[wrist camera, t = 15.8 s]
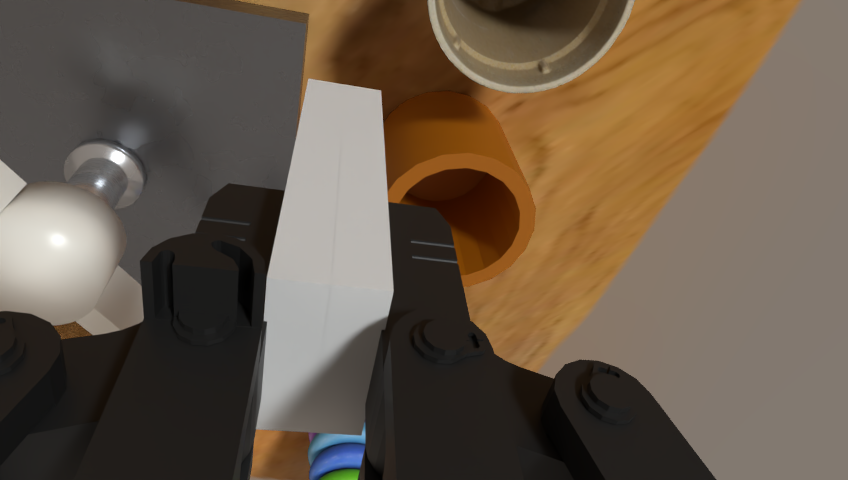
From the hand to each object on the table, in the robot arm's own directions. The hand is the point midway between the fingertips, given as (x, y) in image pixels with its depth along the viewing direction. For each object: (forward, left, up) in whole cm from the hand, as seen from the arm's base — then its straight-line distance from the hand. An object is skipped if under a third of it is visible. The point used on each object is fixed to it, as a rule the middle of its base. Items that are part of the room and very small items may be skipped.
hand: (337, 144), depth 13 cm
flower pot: (-1, +8, -25) cm, 26 cm away
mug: (+13, +7, -25) cm, 29 cm away
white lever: (+17, -11, -16) cm, 26 cm away
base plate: (+15, -13, -24) cm, 31 cm away
